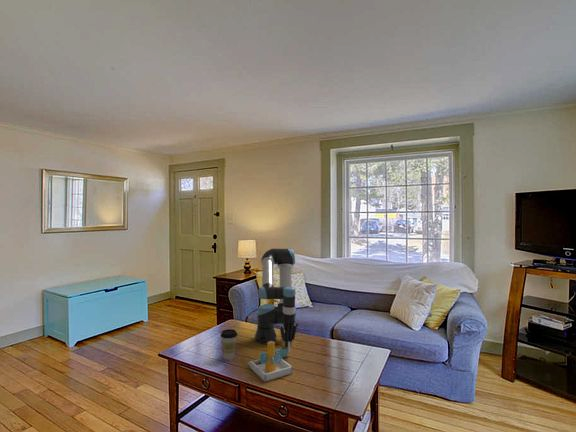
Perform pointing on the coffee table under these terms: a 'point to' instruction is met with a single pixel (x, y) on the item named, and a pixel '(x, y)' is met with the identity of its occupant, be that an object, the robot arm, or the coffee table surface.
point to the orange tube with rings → (270, 357)
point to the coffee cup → (228, 343)
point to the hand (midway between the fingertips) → (288, 352)
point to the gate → (282, 352)
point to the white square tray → (281, 371)
